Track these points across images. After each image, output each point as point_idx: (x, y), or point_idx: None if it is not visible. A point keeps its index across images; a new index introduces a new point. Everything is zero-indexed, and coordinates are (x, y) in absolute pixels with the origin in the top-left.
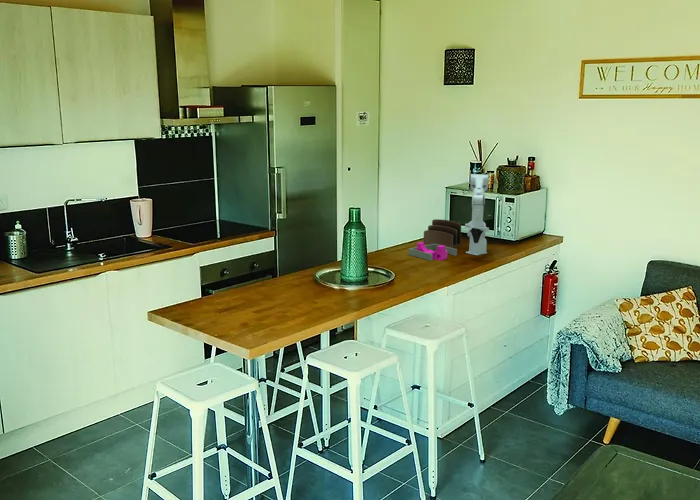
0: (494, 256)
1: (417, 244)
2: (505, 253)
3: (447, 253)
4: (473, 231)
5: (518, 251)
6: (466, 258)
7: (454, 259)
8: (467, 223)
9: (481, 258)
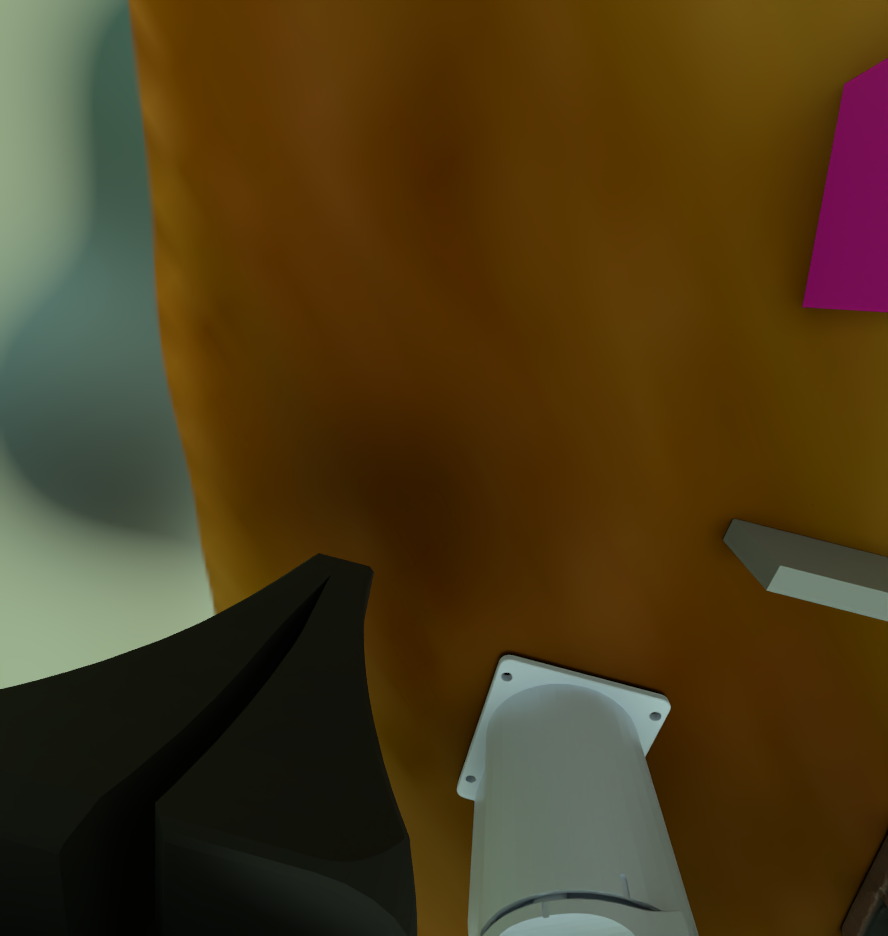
0: None
1: None
2: None
3: (883, 557)
4: (172, 804)
5: None
6: (541, 473)
7: (665, 313)
8: None
9: (395, 576)
